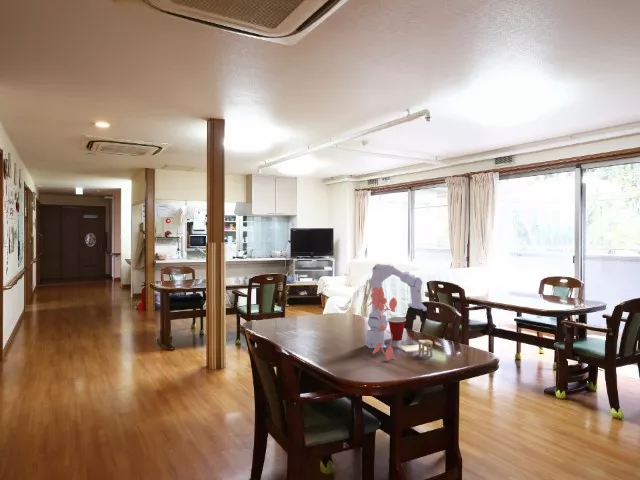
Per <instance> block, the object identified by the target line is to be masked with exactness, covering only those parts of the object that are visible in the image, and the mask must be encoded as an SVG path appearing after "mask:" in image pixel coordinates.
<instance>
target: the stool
mask: <svg viewBox="0 0 640 480" xmlns="http://www.w3.org/2000/svg"><path fill="white" fill-rule="evenodd" d="M417 342H418V345H419V352H418V355H421V356H422V357H423V358H424V357H425V352H424V346H425V345H426V348H427V352H426V355H429V356H430V357H433V344H434V343H433V341H432V340H431V339H418V341H417ZM421 345H422V348H421ZM429 350H430V351H429ZM421 351H422V352H421Z"/></svg>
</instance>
